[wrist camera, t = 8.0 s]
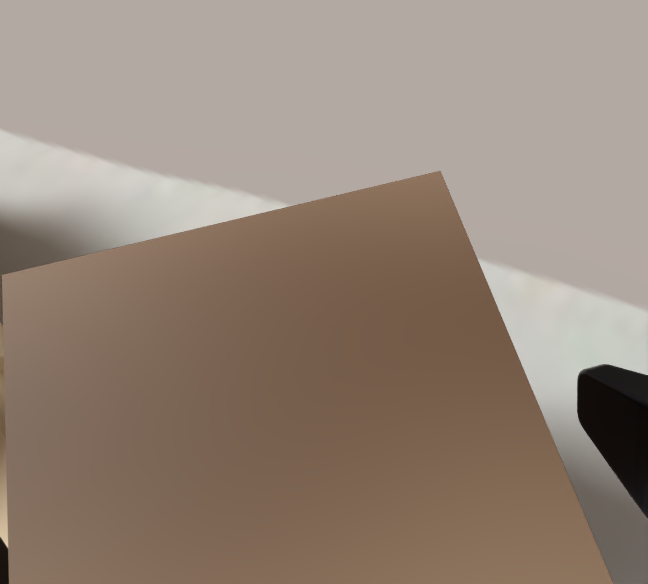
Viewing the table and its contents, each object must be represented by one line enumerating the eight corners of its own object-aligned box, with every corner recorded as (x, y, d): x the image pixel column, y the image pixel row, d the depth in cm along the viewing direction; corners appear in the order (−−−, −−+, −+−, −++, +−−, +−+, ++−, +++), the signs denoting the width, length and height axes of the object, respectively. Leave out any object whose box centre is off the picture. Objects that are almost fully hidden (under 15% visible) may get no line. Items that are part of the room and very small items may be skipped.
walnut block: (409, 534, 15) (653, 679, 4) (265, 576, 15) (17, 888, 3) (367, 391, 17) (441, 171, 5) (236, 426, 16) (1, 275, 5)
